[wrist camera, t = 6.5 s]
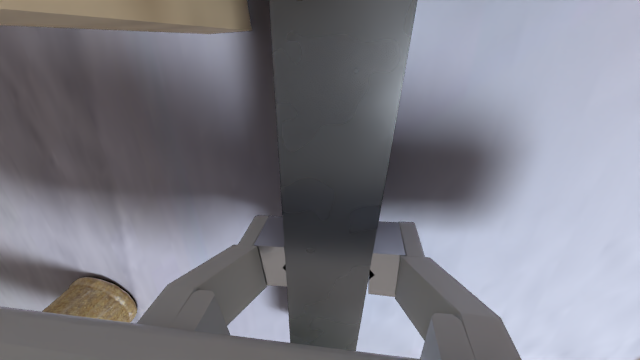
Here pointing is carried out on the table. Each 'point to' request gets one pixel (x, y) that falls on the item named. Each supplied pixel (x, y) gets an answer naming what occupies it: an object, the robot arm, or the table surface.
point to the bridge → (130, 15)
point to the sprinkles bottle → (95, 301)
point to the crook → (334, 151)
